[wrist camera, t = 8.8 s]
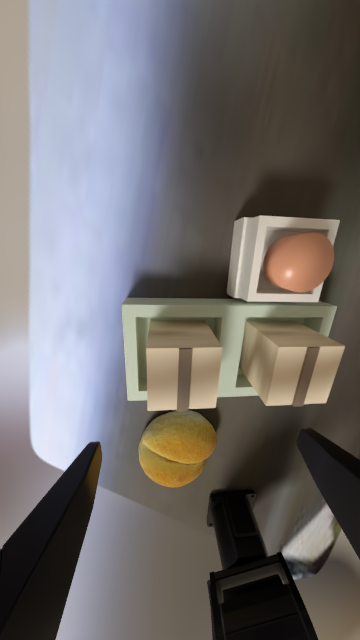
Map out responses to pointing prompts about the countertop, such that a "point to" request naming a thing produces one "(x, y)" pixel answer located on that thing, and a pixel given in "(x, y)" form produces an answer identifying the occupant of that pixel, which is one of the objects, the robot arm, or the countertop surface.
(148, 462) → the bread roll
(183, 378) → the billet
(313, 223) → the button housing
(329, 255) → the button
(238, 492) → the robot arm
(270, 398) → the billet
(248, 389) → the pale green divided tray
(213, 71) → the countertop surface
